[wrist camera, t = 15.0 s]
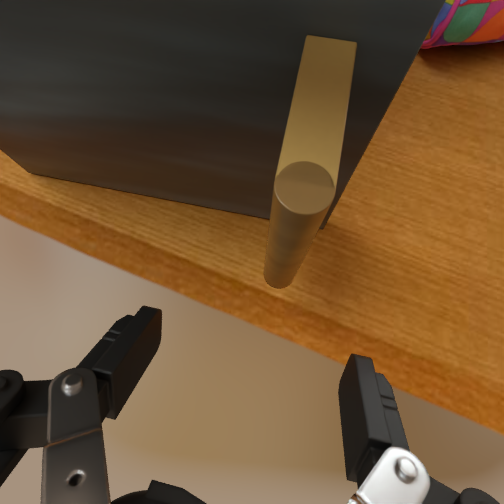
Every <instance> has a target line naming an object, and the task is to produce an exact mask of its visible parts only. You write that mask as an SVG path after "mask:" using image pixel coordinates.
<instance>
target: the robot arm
mask: <svg viewBox="0 0 504 504" xmlns="http://www.w3.org/2000/svg"><path fill="white" fill-rule="evenodd" d="M161 329H162V311H161V310H160V309H157V308H152V307H148V306H142V307H141V308H140V310H139V311H138V312H137V313H136V315H135V316H132V315H126V316H125V317H123V318H121V319H119V320H118V321H116V322H115V323H114V325H113V326H112V327H111V328H110V329H109V331H108V332H107V333H106V334H105V335H104V336H103V338H102V339H101V340H100V341H99V342H98V343H97V344H96V345H95V346H94V348H93V349H92V350H91V351H90V352H89V353H88V355H87V356H86V357H85V358H84V359H83V360H82V361H81V362H80V364H79V365H78V366H77V367H76V368H72V369H68V370H66V371H64V372H62V373H60V374H59V375H58V376H56V377H55V378H54V379H52V380H42V381H41V380H40V381H24V380H23V377H22V375H21V374H20V373H19V372H17V371H14V370H1V371H0V487H1V486H2V484H3V483H4V481H5V480H6V479H7V477H8V476H9V474H10V473H11V472H12V471H13V469H14V468H15V467H16V465H17V464H18V462H19V461H20V460H21V458H22V457H23V456H24V454H25V453H26V452H27V450H28V449H29V448H38V447H43V459H42V484H41V504H206V503H205V502H203V501H202V500H200V499H199V498H197V497H196V496H194V495H192V494H191V493H189V492H188V491H186V490H185V489H183V488H180V487H176V486H173V485H169V484H165V483H162V482H158V481H155V480H152V481H151V483H150V485H149V488H148V490H144V491H138V492H133V493H129V494H126V495H124V496H121V497H119V498H117V499H115V500H114V501H112V502H111V500H110V493H109V483H108V476H107V475H108V474H107V466H106V458H105V448H104V440H103V431H102V422H103V420H104V419H105V417H107V418H111V419H114V420H115V419H116V418H117V416H118V415H119V413H120V411H121V410H122V408H123V406H124V405H125V403H126V401H127V400H128V398H129V396H130V395H131V393H132V391H133V390H134V388H135V386H136V385H137V383H138V382H139V380H140V378H141V377H142V375H143V373H144V372H145V370H146V368H147V367H148V365H149V364H150V362H151V360H152V359H153V357H154V355H155V354H156V352H157V350H158V348H159V345H160V341H161ZM338 394H339V405H340V416H341V425H342V436H343V446H344V456H345V467H346V477H347V480H349V481H353V482H357V485H358V491H357V492H356V493H355V494H354V495H353V496H352V497H351V499H350V500H349V501H348V503H347V504H499V503H498V502H497V501H496V500H495V499H494V498H493V497H491V496H490V495H488V494H487V493H485V492H483V491H481V490H479V489H475V488H467V489H465V490H463V491H462V492H461V494H459V493H458V492H456V491H454V490H452V489H450V488H449V487H447V486H445V485H444V484H442V483H440V482H438V481H436V480H435V479H433V478H432V477H430V476H429V475H428V472H427V470H426V468H425V466H424V465H423V464H422V463H421V461H420V460H419V459H418V458H417V457H416V456H415V455H413V454H412V453H411V452H410V450H409V446H408V443H407V439H406V436H405V433H404V429H403V425H402V422H401V418H400V415H399V412H398V411H397V409H398V408H397V404H396V401H395V397H394V394H393V390H392V387H391V385H390V384H389V382H388V381H387V379H386V378H385V376H384V375H383V374H380V373H376V372H375V369H374V365H373V361H372V359H371V358H370V357H365V356H361V355H357V354H351V355H350V357H349V359H348V362H347V364H346V367H345V369H344V372H343V375H342V377H341V380H340V384H339V392H338Z"/></svg>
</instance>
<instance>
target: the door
mask: <svg viewBox="0 0 504 504" xmlns="http://www.w3.org/2000/svg"><path fill="white" fill-rule="evenodd" d="M445 1H446V0H0V149H1V150H2V151H3V152H4V153H5V154H7V155H8V156H9V157H10V158H11V159H13V160H14V161H15V162H16V163H18V164H19V165H20V166H21V167H22V168H24V169H25V170H26V171H27V172H28V173H33V174H38V175H43V176H49V177H54V178H59V179H64V180H69V181H74V182H80V183H85V184H90V185H95V186H100V187H106V188H111V189H116V190H121V191H126V192H132V193H137V194H142V195H147V196H152V197H157V198H163V199H168V200H173V201H178V202H183V203H189V204H194V205H199V206H204V207H209V208H214V209H220V210H225V211H230V212H235V213H240V214H246V215H251V216H256V217H261V218H266V219H270V222H269V231H268V240H267V248H266V257H265V266H264V278H265V280H266V282H267V283H268V284H269V285H270V286H272V287H274V288H278V289H280V288H285V287H287V286H289V285H290V284H291V283H292V281H293V279H294V277H295V275H296V273H297V271H298V269H299V267H300V265H301V263H302V261H303V259H304V257H305V255H306V253H307V251H308V249H309V247H310V245H311V243H312V241H313V239H314V237H315V235H316V233H317V231H318V229H323V228H324V226H325V225H326V223H327V221H328V219H329V217H330V215H331V213H332V212H333V210H334V208H335V206H336V204H337V202H338V200H339V198H340V197H341V195H342V193H343V191H344V189H345V187H346V185H347V184H348V182H349V180H350V178H351V176H352V174H353V172H354V171H355V169H356V167H357V165H358V163H359V161H360V159H361V158H362V156H363V154H364V152H365V150H366V148H367V146H368V144H369V143H370V141H371V139H372V137H373V135H374V133H375V131H376V130H377V128H378V126H379V124H380V122H381V120H382V118H383V117H384V115H385V113H386V111H387V109H388V107H389V105H390V104H391V102H392V100H393V98H394V96H395V94H396V92H397V90H398V89H399V87H400V85H401V83H402V81H403V79H404V77H405V76H406V74H407V72H408V70H409V68H410V66H411V64H412V63H413V61H414V59H415V57H416V55H417V53H418V51H419V49H420V48H421V46H422V44H423V42H424V40H425V38H426V36H427V35H428V33H429V31H430V29H431V27H432V25H433V23H434V22H435V20H436V18H437V16H438V14H439V12H440V10H441V9H442V7H443V5H444V3H445Z"/></svg>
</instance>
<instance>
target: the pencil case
mask: <svg viewBox="0 0 504 504" xmlns="http://www.w3.org/2000/svg"><path fill="white" fill-rule="evenodd" d="M501 41H504V0H446V1H445V3H444V5H443V7H442V9H441V10H440V12H439V14H438V16H437V18H436V20H435V22H434V23H433V25H432V27H431V29H430V31H429V33H428V35H427V36H426V38H425V40H424V42H423V44H422V46H421V48H423V49H428V48H431V47H437V46H441V45H443V46H448V45H476V44H483V43H494V42H501Z"/></svg>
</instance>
